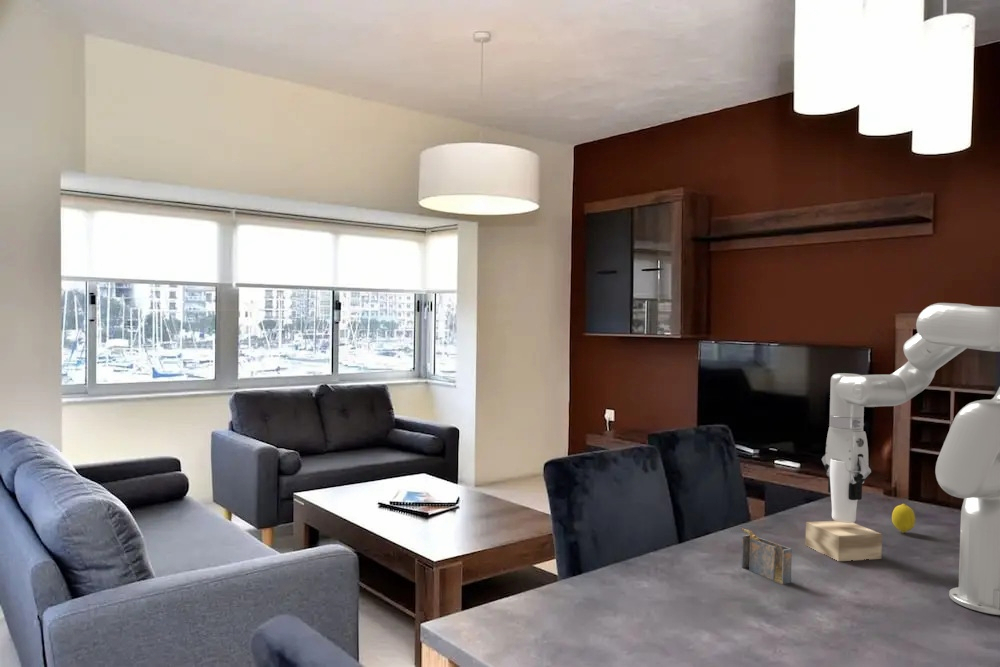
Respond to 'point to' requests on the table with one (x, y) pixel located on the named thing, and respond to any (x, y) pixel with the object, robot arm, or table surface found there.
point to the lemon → (903, 518)
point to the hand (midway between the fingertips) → (844, 495)
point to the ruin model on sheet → (766, 558)
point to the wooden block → (843, 540)
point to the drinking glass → (841, 493)
